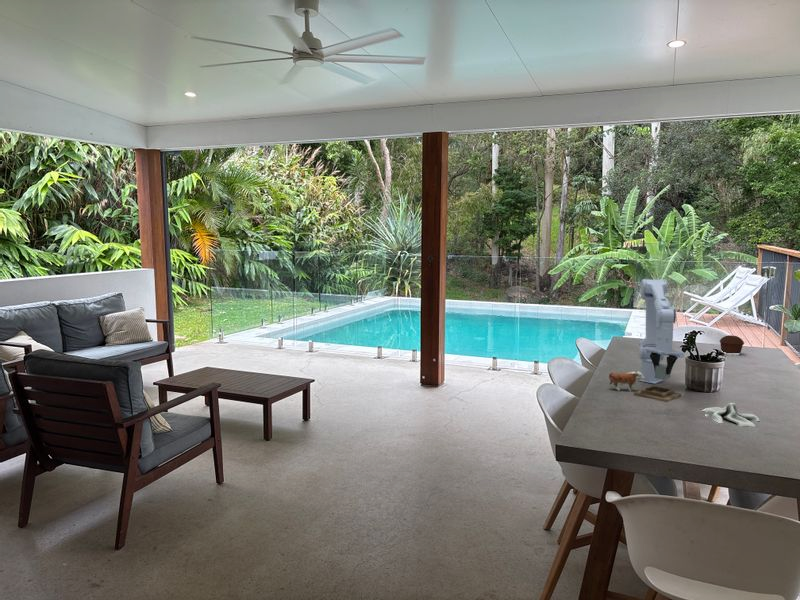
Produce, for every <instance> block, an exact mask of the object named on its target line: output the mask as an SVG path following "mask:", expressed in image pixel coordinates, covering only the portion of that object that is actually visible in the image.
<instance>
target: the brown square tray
mask: <svg viewBox="0 0 800 600" xmlns="http://www.w3.org/2000/svg"><path fill="white" fill-rule="evenodd" d="M633 395H634V396H636V397H641V398H647V399H652V400H657V401H661V402H666V403H668V402H670V401H672V400H676V398H679V397H682V393H679V392H675V389H671V388H666V387H660V386H656V385H649V386H647V387H644V388H642V389H639V390H638V391H636V392H634V393H633Z"/></svg>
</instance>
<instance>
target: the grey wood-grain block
mask: <svg viewBox="0 0 800 600" xmlns="http://www.w3.org/2000/svg"><path fill="white" fill-rule="evenodd" d="M655 378H657V379H662V380H663V381H667V380H669V379H671V374H669V375H668V374H667V364H663V363H661V364H659V365H656V368H655Z"/></svg>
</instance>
